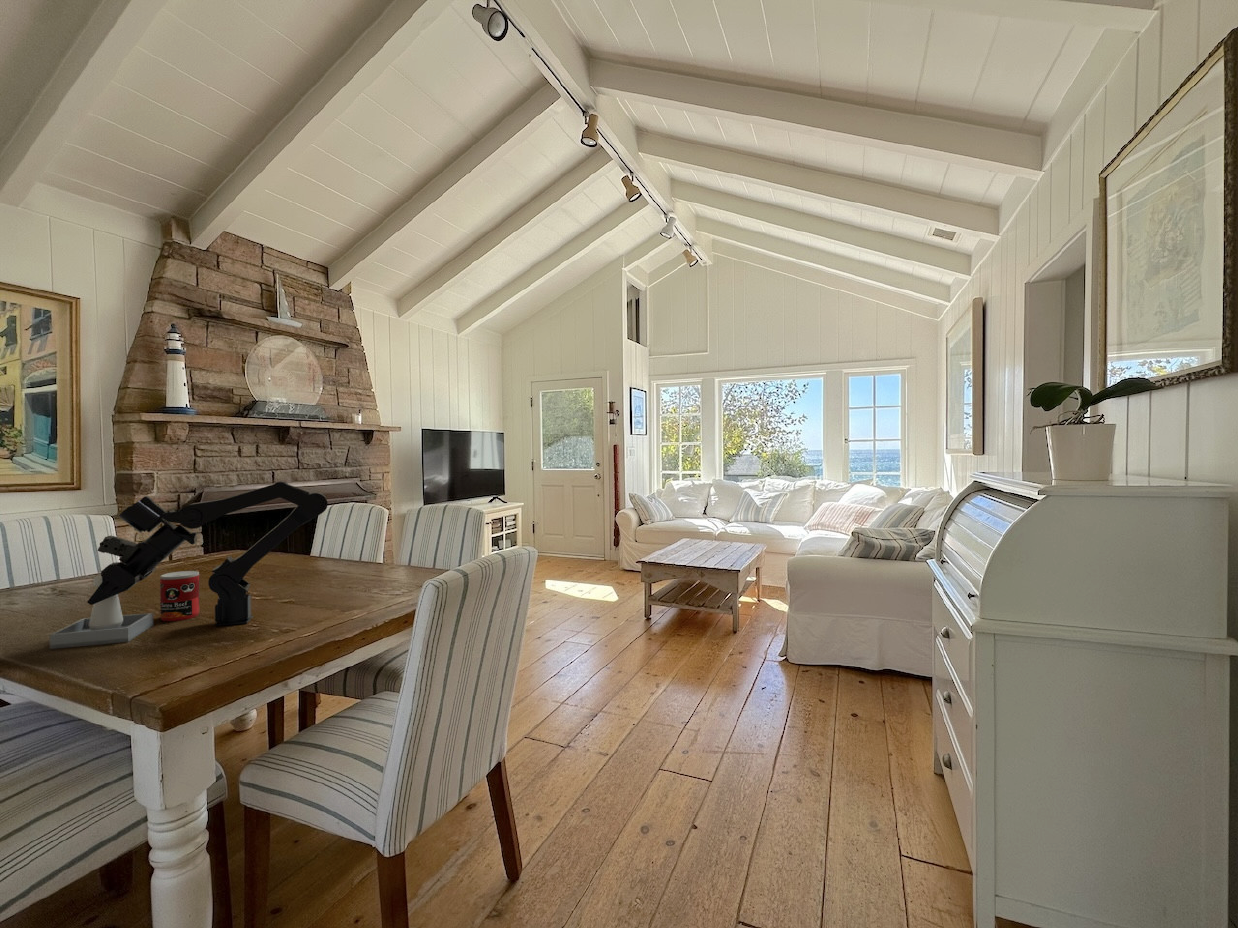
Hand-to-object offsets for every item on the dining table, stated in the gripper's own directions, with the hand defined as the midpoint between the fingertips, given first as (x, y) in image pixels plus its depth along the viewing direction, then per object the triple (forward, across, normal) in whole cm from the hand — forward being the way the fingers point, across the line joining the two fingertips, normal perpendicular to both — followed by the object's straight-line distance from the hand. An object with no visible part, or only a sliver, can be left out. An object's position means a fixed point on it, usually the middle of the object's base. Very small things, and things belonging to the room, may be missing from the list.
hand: (96, 599), depth 125 cm
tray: (+5, 0, +7) cm, 9 cm away
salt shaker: (+4, 0, +7) cm, 8 cm away
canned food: (-3, -12, +15) cm, 19 cm away
